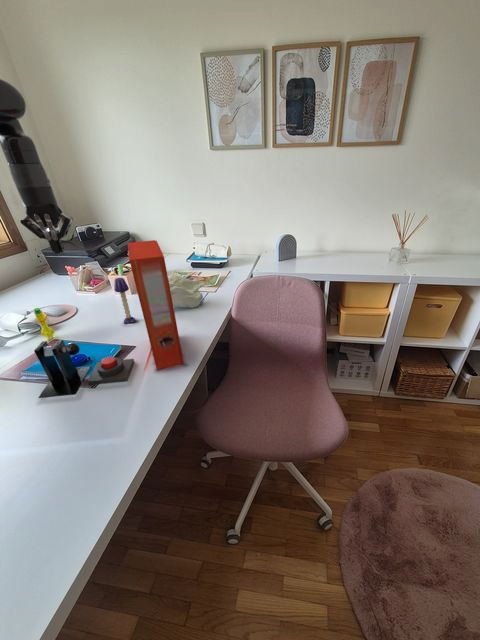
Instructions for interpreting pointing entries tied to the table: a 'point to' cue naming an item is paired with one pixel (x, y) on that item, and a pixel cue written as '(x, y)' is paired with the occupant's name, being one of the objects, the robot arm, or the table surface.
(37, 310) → the toy figure
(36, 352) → the black stand
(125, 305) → the toy lamp
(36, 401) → the table surface
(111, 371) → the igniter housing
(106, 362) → the disc
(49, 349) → the lever
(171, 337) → the file binder
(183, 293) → the wavy plaster lump
